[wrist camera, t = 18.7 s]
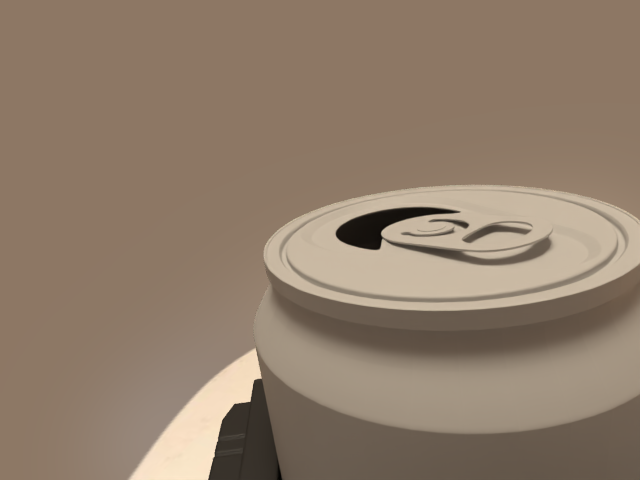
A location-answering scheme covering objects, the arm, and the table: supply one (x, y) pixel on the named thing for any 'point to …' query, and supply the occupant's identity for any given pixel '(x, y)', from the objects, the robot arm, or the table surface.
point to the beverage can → (454, 337)
